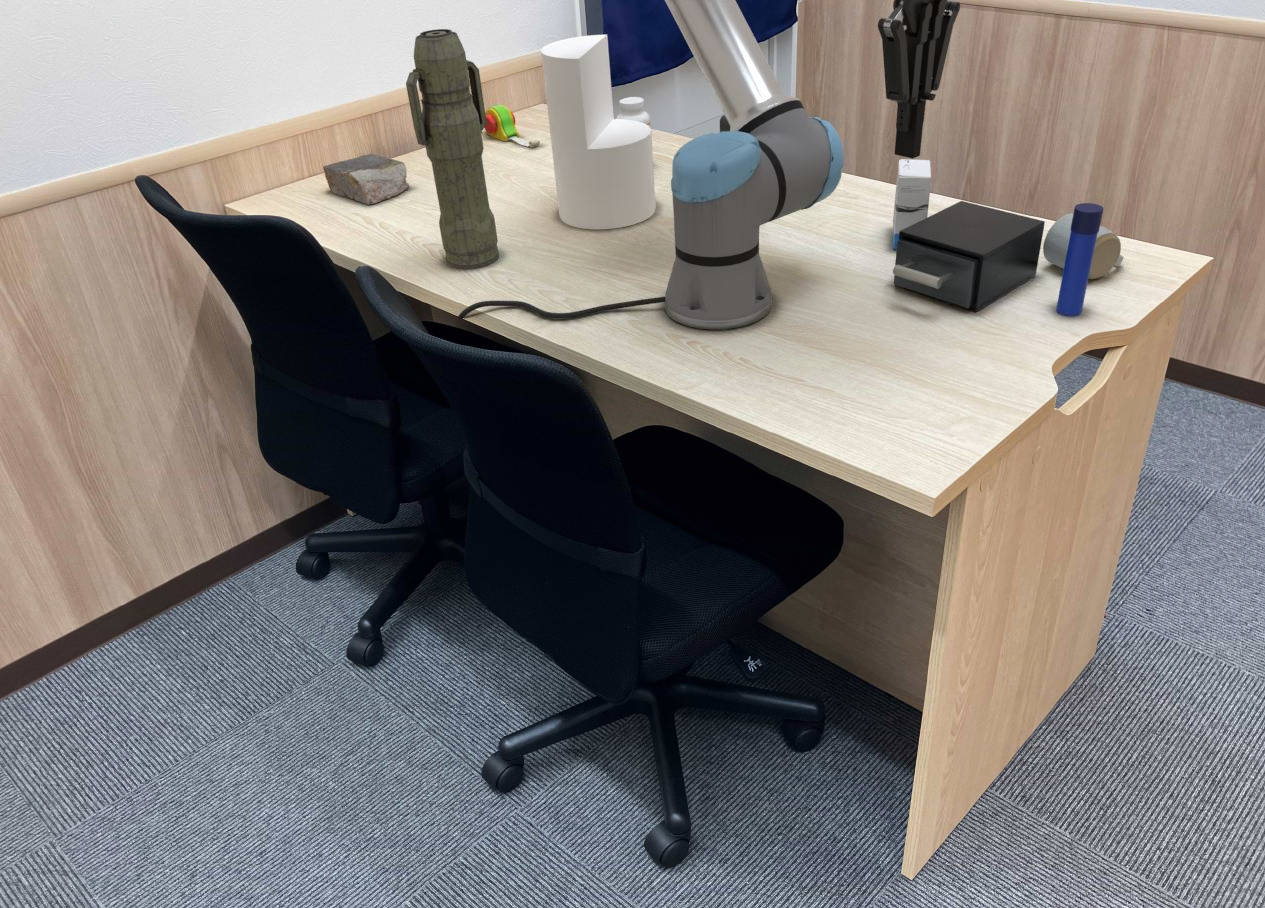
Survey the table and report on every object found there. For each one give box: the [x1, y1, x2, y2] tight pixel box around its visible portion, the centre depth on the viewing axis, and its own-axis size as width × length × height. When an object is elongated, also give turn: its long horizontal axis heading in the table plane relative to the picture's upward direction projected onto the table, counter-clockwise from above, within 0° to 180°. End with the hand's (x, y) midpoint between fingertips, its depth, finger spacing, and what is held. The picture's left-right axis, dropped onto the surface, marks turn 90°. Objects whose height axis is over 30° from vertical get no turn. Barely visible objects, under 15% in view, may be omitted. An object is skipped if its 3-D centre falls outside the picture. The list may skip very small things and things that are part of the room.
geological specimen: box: [322, 153, 410, 206], centre depth 195 cm, size 11×6×15 cm
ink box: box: [891, 158, 932, 250], centre depth 155 cm, size 8×5×12 cm, turn 168°
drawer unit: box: [894, 200, 1046, 313], centre depth 142 cm, size 15×13×8 cm
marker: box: [1055, 202, 1104, 317], centre depth 131 cm, size 3×3×14 cm
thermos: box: [405, 28, 500, 270], centre depth 154 cm, size 9×12×35 cm
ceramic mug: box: [1042, 212, 1125, 280], centre depth 143 cm, size 11×8×8 cm
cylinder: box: [540, 34, 657, 230], centre depth 170 cm, size 17×17×28 cm
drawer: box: [892, 238, 979, 308], centre depth 140 cm, size 19×12×7 cm, turn 132°
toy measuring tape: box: [484, 104, 541, 148], centre depth 217 cm, size 6×20×7 cm, turn 40°
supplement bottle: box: [615, 96, 651, 128], centre depth 194 cm, size 7×7×13 cm
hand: (907, 154), depth 123 cm, fingers closed
